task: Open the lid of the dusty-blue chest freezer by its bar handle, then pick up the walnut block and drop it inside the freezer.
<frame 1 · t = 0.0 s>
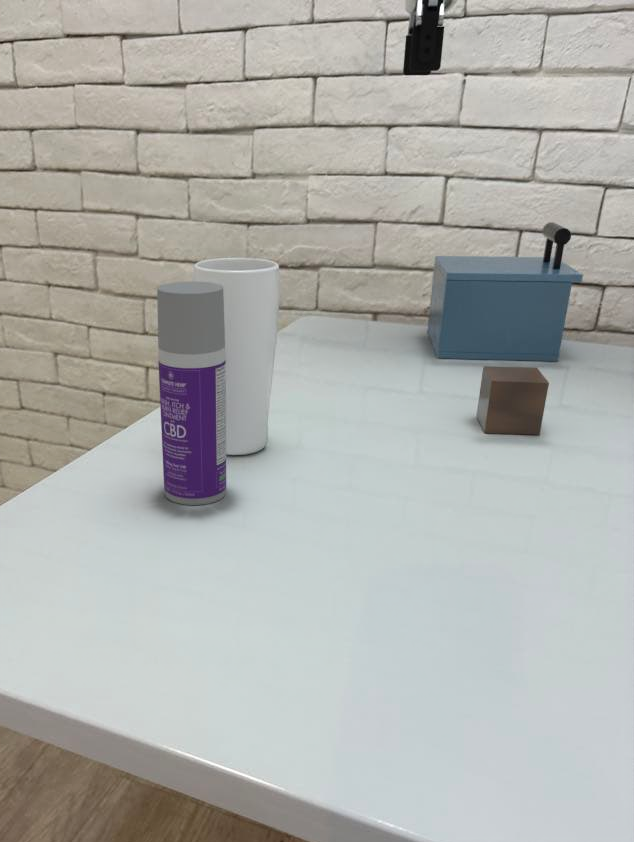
hand: (420, 72, 92), 29 cm above the table, tool pointing down, fingers open, 9 cm apart
block: (507, 425, 75), on the table
drinking glass: (236, 448, 70), on the table
freezer lid: (506, 248, 95), point 11 cm above the table, hinge at 0.0°
freezer: (488, 346, 100), on the table
container: (195, 494, 62), on the table
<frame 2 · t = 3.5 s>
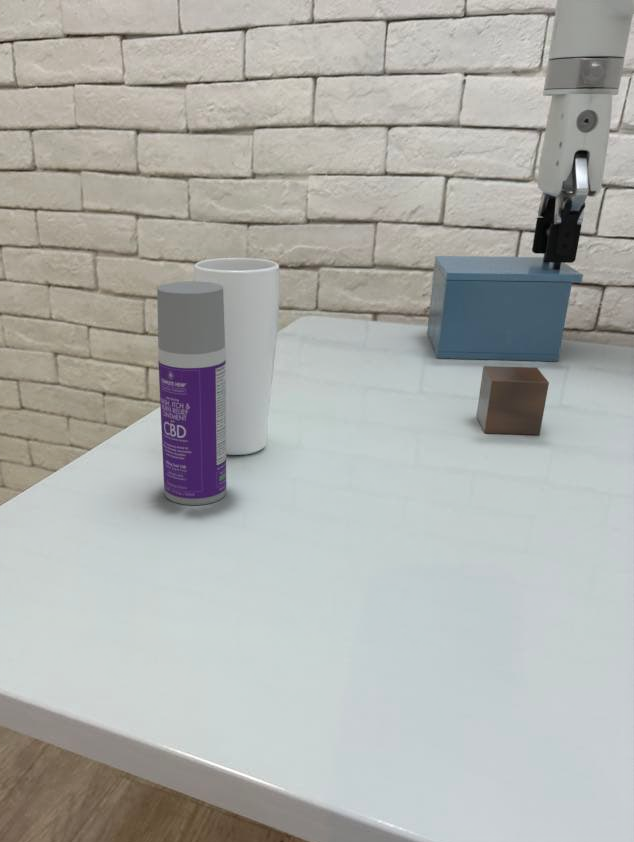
hand: (552, 255, 95), 11 cm above the table, tool pointing down, fingers closed on freezer lid, 6 cm apart
freezer lid: (506, 248, 95), point 11 cm above the table, hinge at 0.0°, touching gripper
everything else where it was.
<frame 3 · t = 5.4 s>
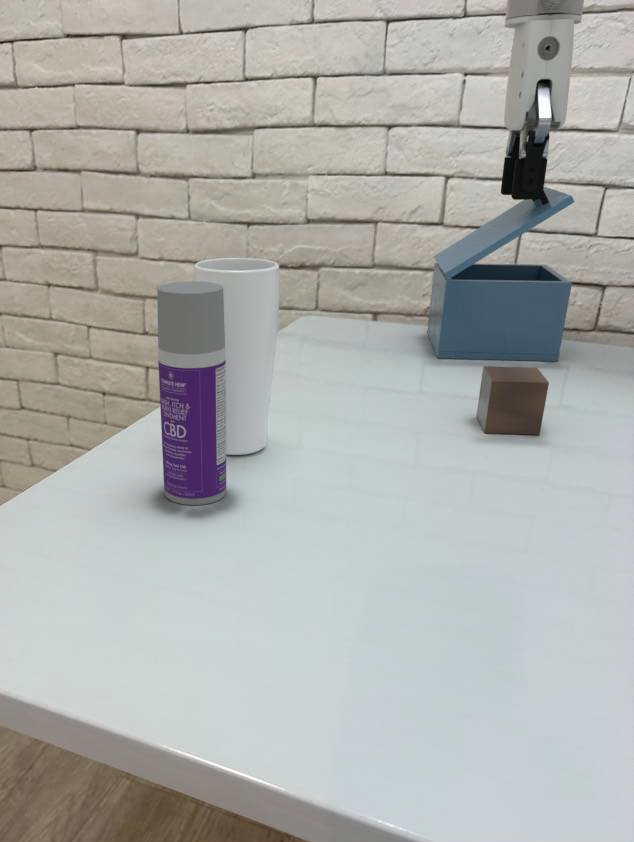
hand: (520, 195, 92), 17 cm above the table, tool pointing down, fingers closed on freezer lid, 6 cm apart
freezer lid: (489, 214, 94), point 15 cm above the table, hinge at 33.7°, touching gripper
everything else where it was.
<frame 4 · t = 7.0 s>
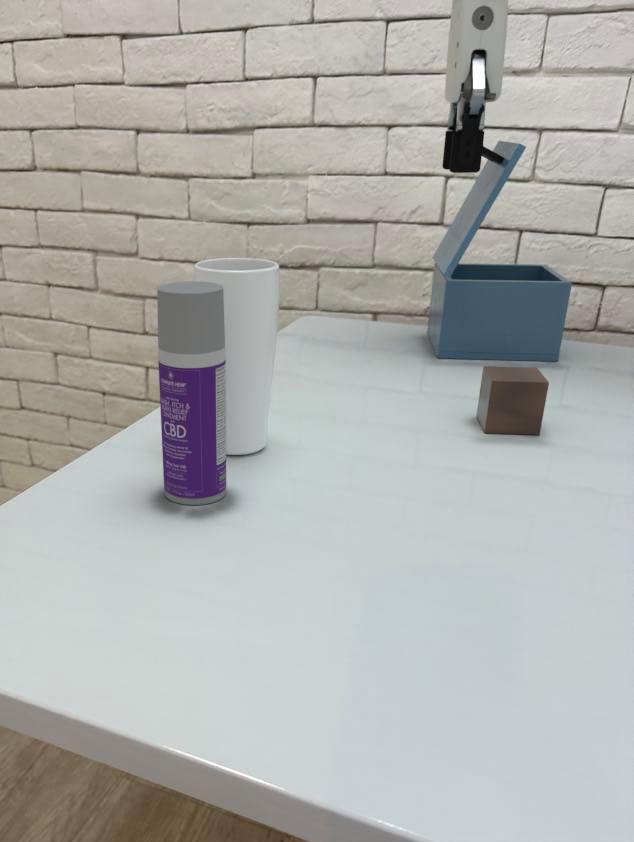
hand: (460, 169, 92), 20 cm above the table, tool pointing down, fingers closed on freezer lid, 6 cm apart
freezer lid: (458, 198, 93), point 17 cm above the table, hinge at 64.7°, touching gripper
everything else where it was.
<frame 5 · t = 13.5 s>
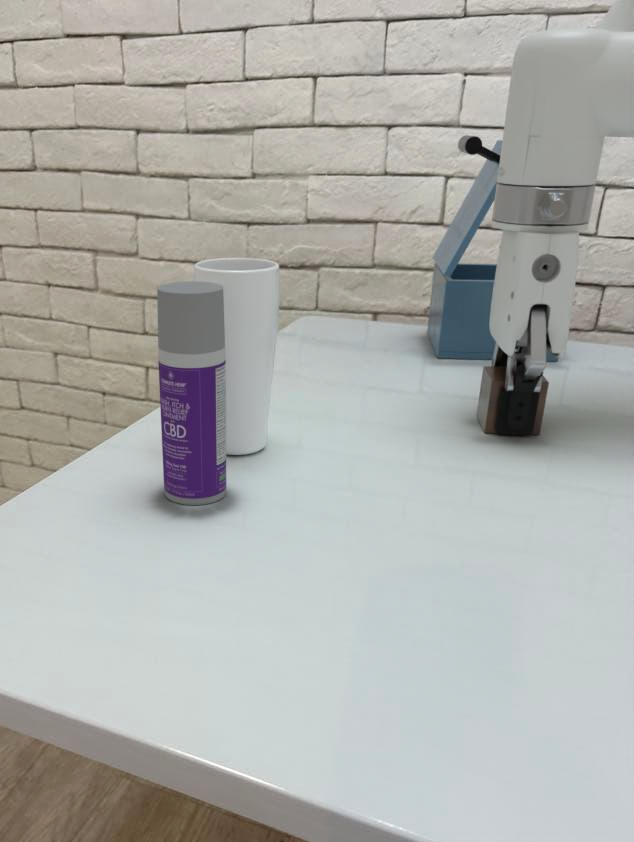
hand: (507, 421, 75), 0 cm above the table, tool pointing down, fingers closed on block, 4 cm apart
block: (507, 425, 75), on the table, touching gripper
freezer lid: (457, 198, 93), point 17 cm above the table, hinge at 65.3°
everything else where it was.
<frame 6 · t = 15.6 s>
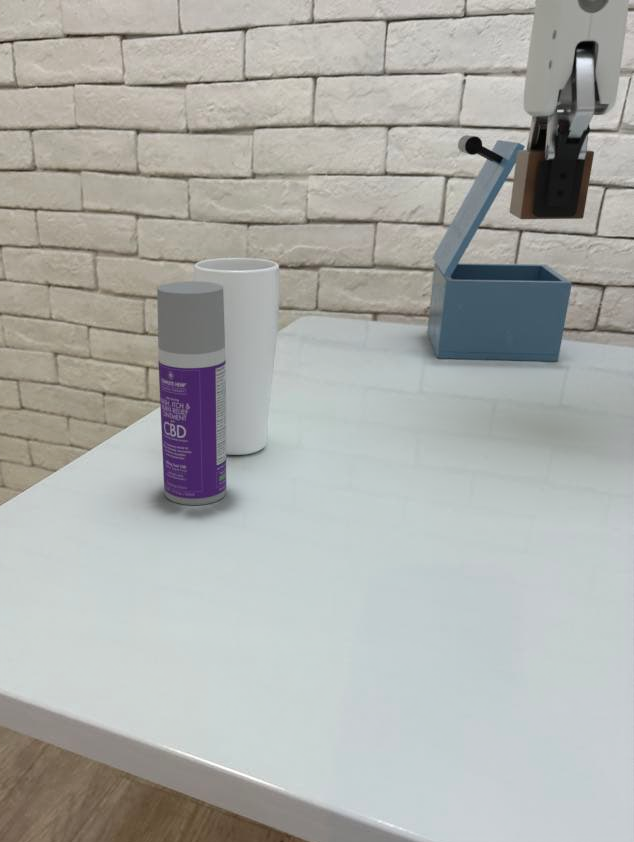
hand: (546, 210, 66), 18 cm above the table, tool pointing down, fingers closed on block, 4 cm apart
block: (545, 215, 67), point 18 cm above the table, touching gripper
everything else where it was.
when the fingers open (22 cm above the table, at t = 17.8 s): block moves 3 cm, resting on freezer lid.
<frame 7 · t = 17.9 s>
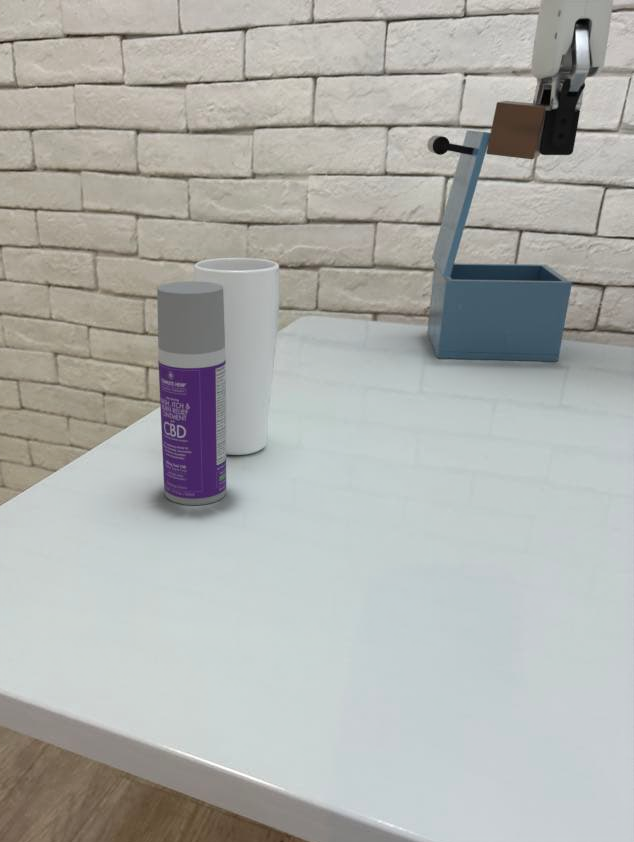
hand: (548, 151, 86), 22 cm above the table, tool pointing down, fingers open, 5 cm apart
block: (513, 155, 86), point 21 cm above the table, tilted 6°, touching freezer lid
freezer lid: (439, 198, 94), point 17 cm above the table, hinge at 80.4°, touching block
everything else where it was.
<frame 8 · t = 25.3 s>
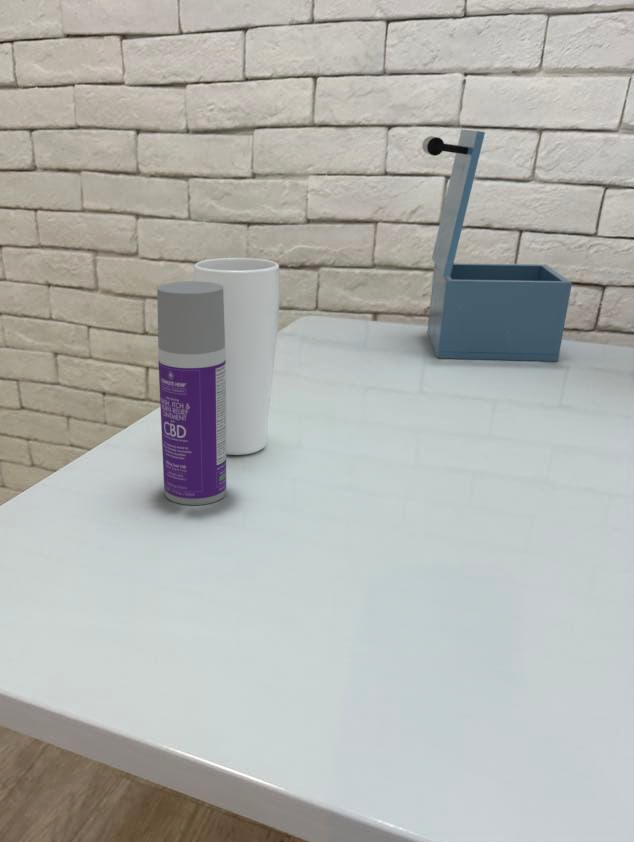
block: (456, 319, 99), point 3 cm above the table, tilted 90°, touching freezer
freezer lid: (436, 198, 94), point 17 cm above the table, hinge at 82.8°
everything else where it was.
at the end: freezer lid at +83° (first picture: +0°); block inside the target area in the freezer (4.2 cm from its centre), point 3.2 cm above the freezer's base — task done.
